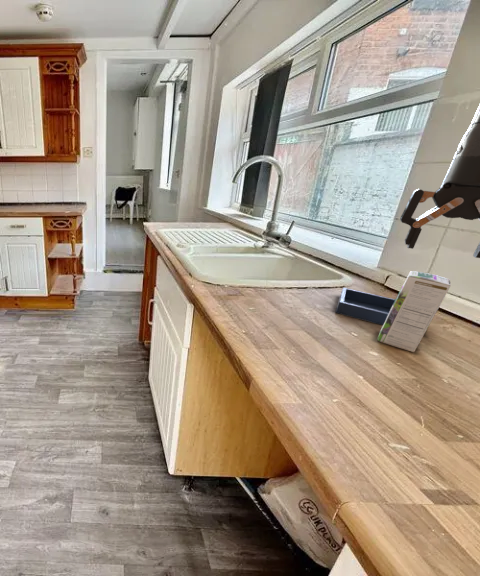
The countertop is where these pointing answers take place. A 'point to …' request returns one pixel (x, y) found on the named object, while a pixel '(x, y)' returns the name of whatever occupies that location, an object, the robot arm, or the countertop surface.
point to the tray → (364, 306)
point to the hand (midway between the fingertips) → (441, 252)
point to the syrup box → (413, 310)
